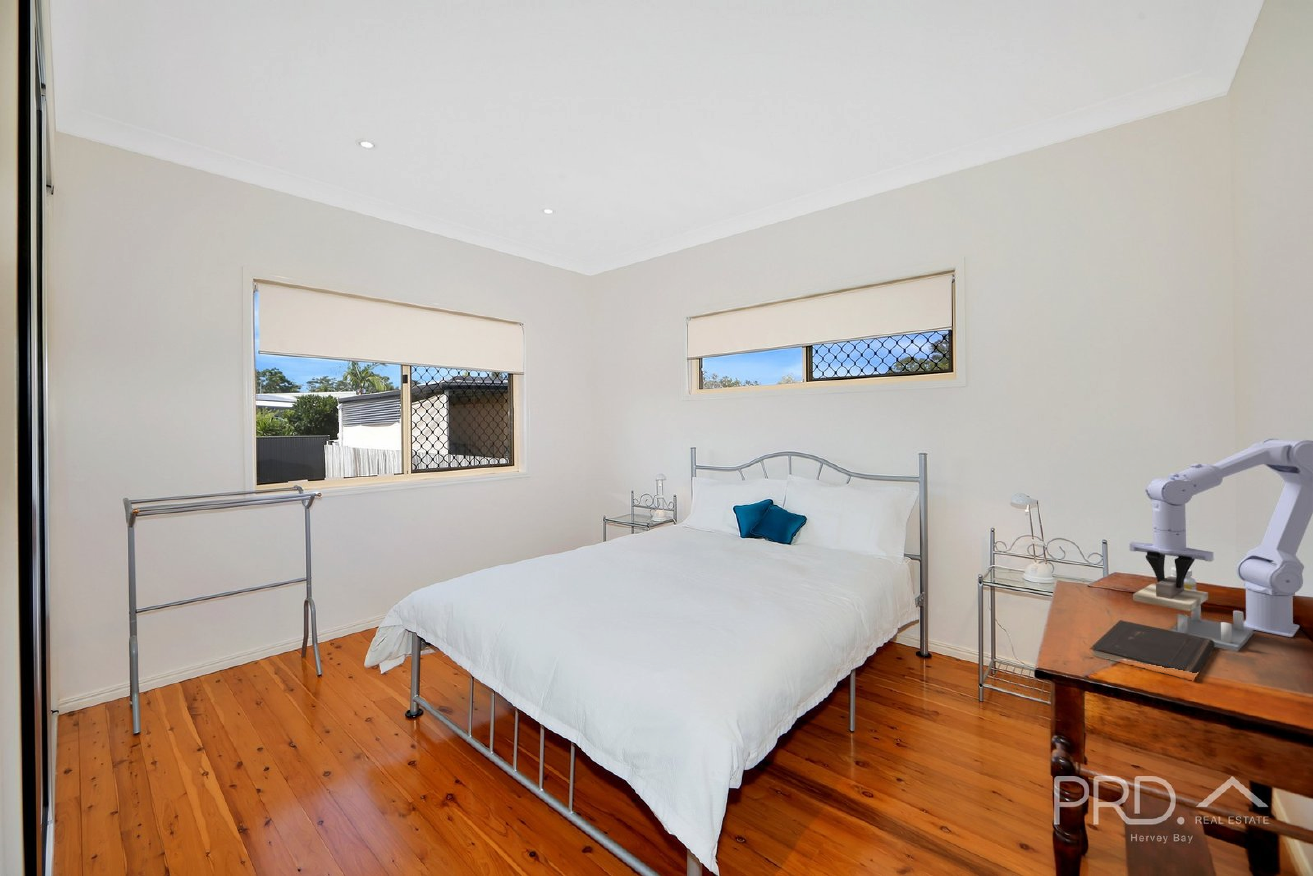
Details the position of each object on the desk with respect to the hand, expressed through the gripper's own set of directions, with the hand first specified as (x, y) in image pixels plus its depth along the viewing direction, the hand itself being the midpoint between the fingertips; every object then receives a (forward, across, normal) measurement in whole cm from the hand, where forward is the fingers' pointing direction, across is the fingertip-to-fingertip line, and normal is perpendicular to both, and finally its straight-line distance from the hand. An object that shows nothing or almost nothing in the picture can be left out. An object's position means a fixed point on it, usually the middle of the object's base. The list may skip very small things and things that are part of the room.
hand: (1170, 585), depth 130 cm
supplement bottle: (+10, -2, +19) cm, 21 cm away
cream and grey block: (+3, 0, 0) cm, 3 cm away
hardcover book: (+10, +2, -20) cm, 23 cm away
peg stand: (+10, +7, 0) cm, 12 cm away
